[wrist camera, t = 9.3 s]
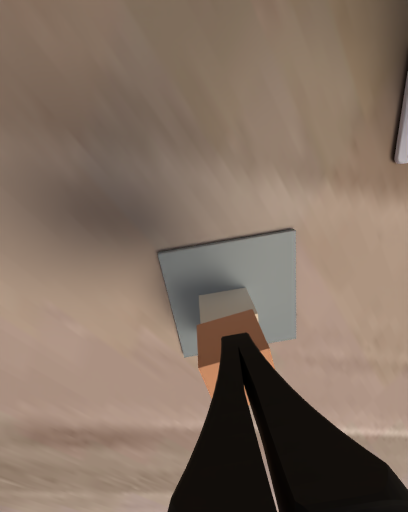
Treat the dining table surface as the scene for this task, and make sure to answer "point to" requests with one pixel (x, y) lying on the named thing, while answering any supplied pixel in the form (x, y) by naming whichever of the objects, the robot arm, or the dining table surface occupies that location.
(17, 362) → the dining table surface
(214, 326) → the terracotta block
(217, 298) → the cream block
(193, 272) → the grey square plate
